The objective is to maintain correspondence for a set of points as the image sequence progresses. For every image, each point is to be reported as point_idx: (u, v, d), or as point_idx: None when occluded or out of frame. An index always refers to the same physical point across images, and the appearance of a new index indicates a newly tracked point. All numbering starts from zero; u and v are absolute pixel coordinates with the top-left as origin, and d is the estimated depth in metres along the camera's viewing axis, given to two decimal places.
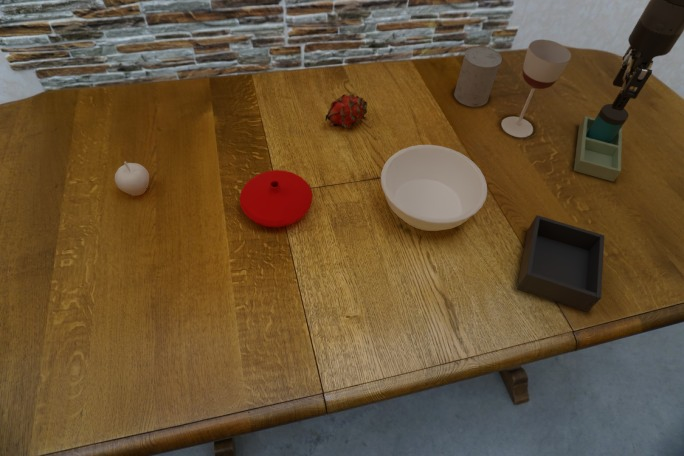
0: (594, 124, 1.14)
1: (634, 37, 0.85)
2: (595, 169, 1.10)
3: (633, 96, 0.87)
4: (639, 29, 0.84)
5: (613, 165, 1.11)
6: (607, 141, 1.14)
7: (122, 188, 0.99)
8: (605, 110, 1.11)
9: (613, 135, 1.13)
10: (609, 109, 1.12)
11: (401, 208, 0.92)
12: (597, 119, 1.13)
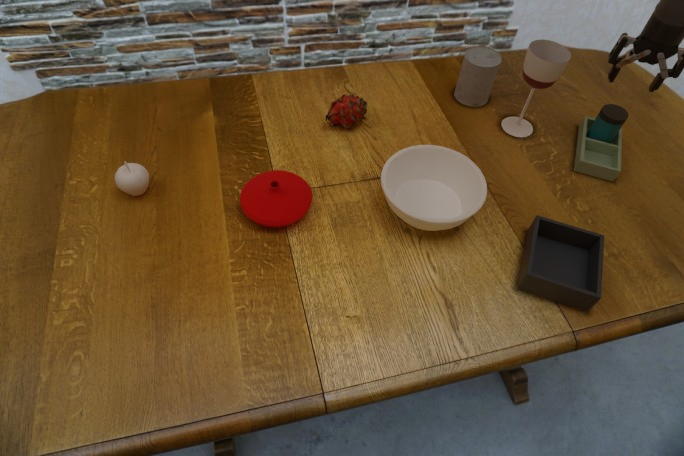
0: (594, 124, 1.14)
1: None
2: (595, 169, 1.10)
3: (608, 59, 1.00)
4: None
5: (613, 165, 1.11)
6: (607, 141, 1.14)
7: (122, 188, 0.99)
8: (605, 110, 1.11)
9: (613, 135, 1.13)
10: (609, 109, 1.12)
11: (401, 208, 0.92)
12: (597, 119, 1.13)
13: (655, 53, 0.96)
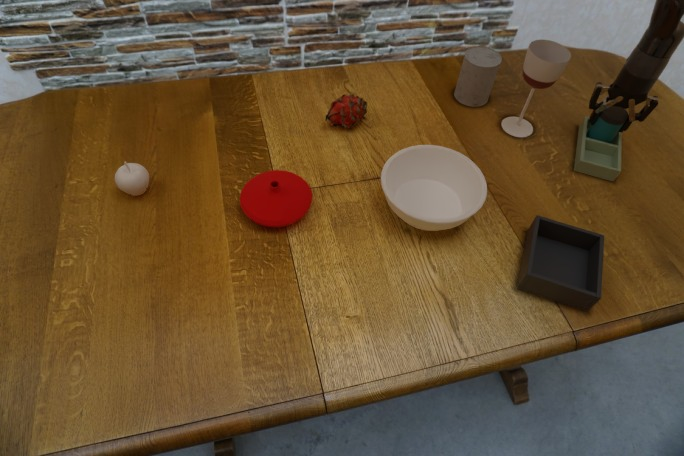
0: (594, 124, 1.14)
1: None
2: (595, 169, 1.10)
3: (589, 105, 1.11)
4: None
5: (613, 165, 1.11)
6: (607, 141, 1.14)
7: (122, 188, 0.99)
8: (605, 110, 1.11)
9: (613, 135, 1.13)
10: (609, 109, 1.12)
11: (401, 208, 0.92)
12: (597, 119, 1.13)
13: (627, 99, 1.07)
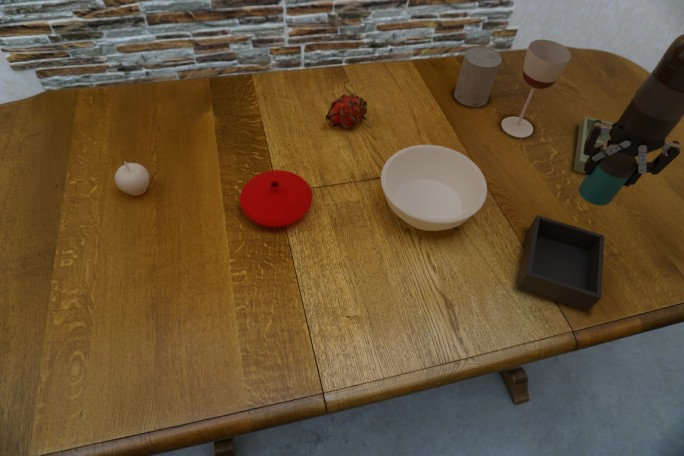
0: (591, 174, 0.84)
1: None
2: None
3: (584, 149, 0.82)
4: None
5: None
6: (607, 197, 0.84)
7: (122, 188, 0.99)
8: (606, 156, 0.81)
9: (616, 190, 0.83)
10: (611, 155, 0.82)
11: (401, 208, 0.92)
12: (595, 168, 0.83)
13: (636, 145, 0.77)
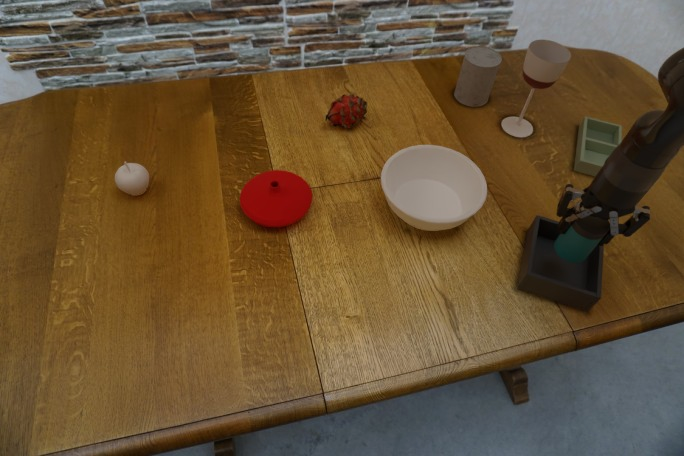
0: (565, 233, 0.85)
1: None
2: (595, 169, 1.10)
3: (557, 211, 0.82)
4: None
5: None
6: (582, 255, 0.85)
7: (122, 188, 0.99)
8: None
9: (590, 249, 0.84)
10: None
11: (401, 208, 0.92)
12: (568, 228, 0.84)
13: (607, 209, 0.77)
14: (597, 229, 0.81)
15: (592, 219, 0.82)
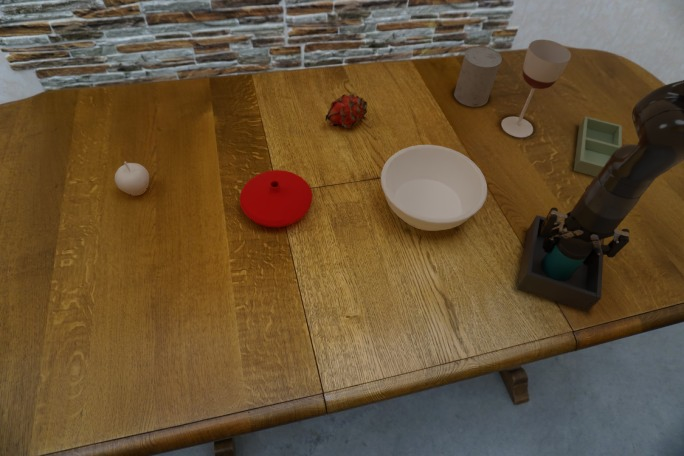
0: (551, 253, 0.90)
1: None
2: (595, 169, 1.10)
3: (541, 231, 0.87)
4: None
5: None
6: (567, 274, 0.90)
7: (122, 188, 0.99)
8: None
9: (574, 269, 0.89)
10: None
11: (401, 208, 0.92)
12: (554, 248, 0.89)
13: (589, 233, 0.83)
14: (580, 250, 0.86)
15: (576, 240, 0.87)
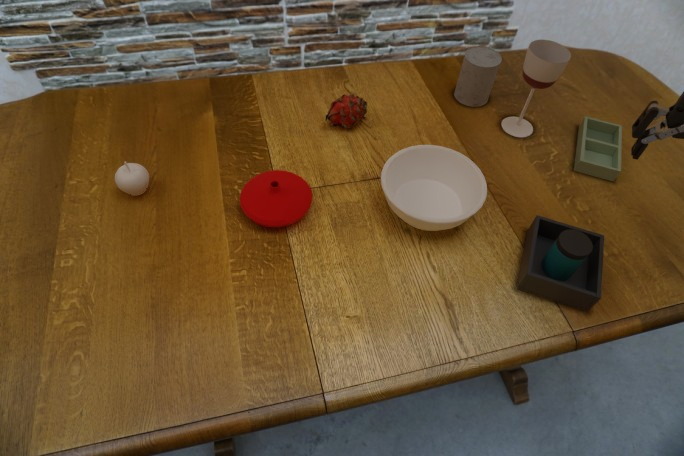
0: (551, 253, 0.90)
1: None
2: (595, 169, 1.10)
3: (632, 132, 0.76)
4: None
5: (613, 165, 1.11)
6: (567, 274, 0.90)
7: (122, 188, 0.99)
8: (563, 239, 0.87)
9: (574, 269, 0.89)
10: (569, 237, 0.88)
11: (401, 208, 0.92)
12: (554, 248, 0.89)
13: None
14: (580, 250, 0.86)
15: (576, 240, 0.87)
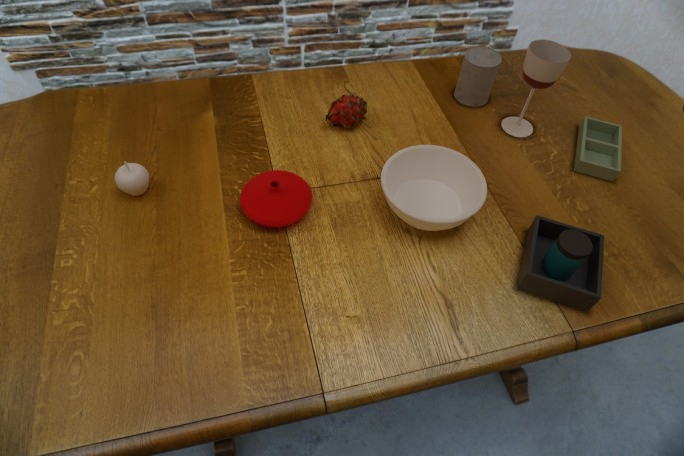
0: (551, 253, 0.90)
1: None
2: (595, 169, 1.10)
3: None
4: None
5: (613, 165, 1.11)
6: (567, 274, 0.90)
7: (122, 188, 0.99)
8: (563, 239, 0.87)
9: (574, 269, 0.89)
10: (569, 237, 0.88)
11: (401, 208, 0.92)
12: (554, 248, 0.89)
13: None
14: (580, 250, 0.86)
15: (576, 240, 0.87)
